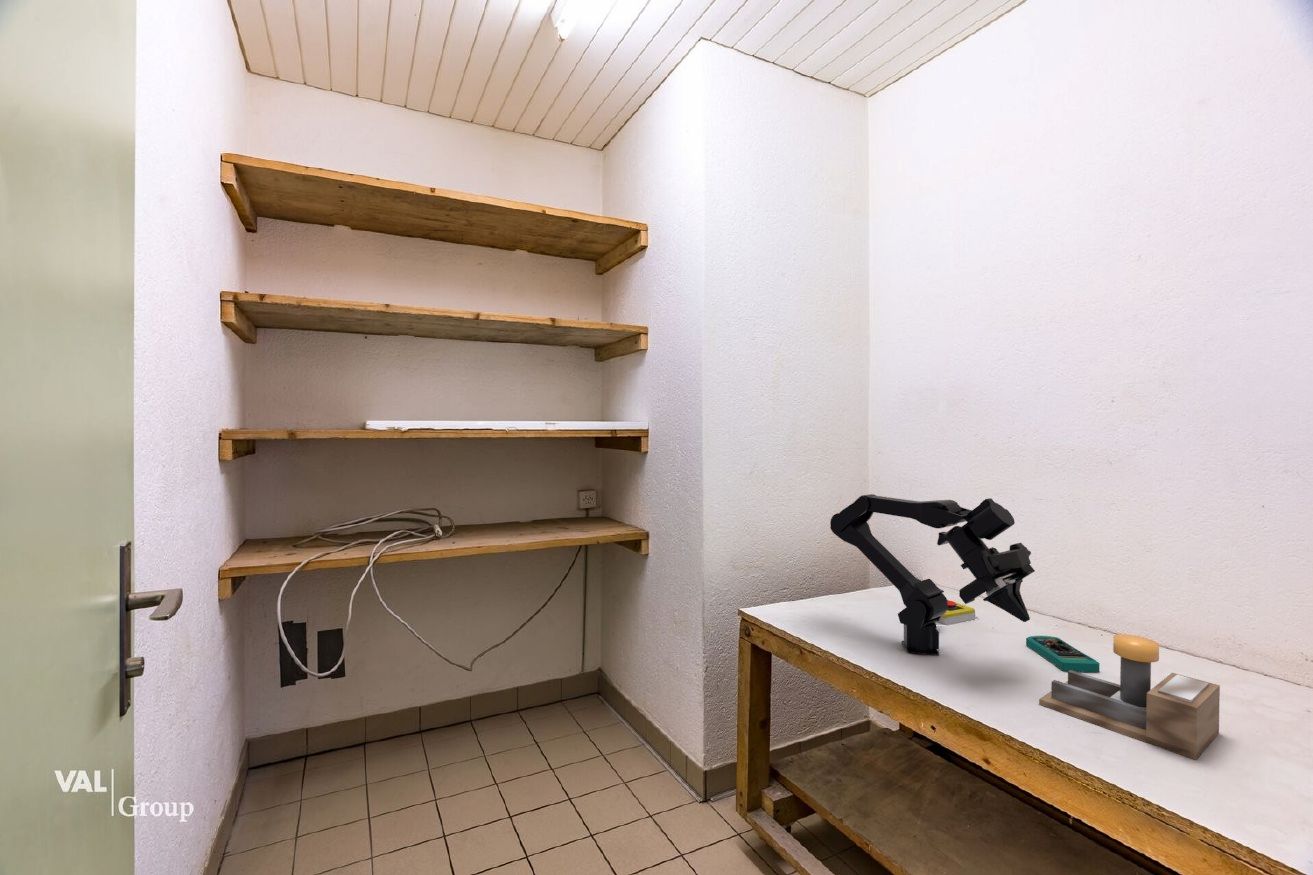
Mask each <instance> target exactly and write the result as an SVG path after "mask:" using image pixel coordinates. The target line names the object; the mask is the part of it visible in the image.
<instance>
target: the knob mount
mask: <svg viewBox="0 0 1313 875" xmlns="http://www.w3.org/2000/svg"><path fill="white" fill-rule="evenodd" d="M1220 688H1221V686H1220V684H1216V683H1212V682H1210V681H1209V682H1208V681H1206V680H1201V679H1197V678H1194V677H1189V676H1187V675H1182V674H1179V673H1176V672H1171V673H1170V674H1169V675H1167V676H1166V677H1164V678H1163V679H1162V680H1161V681H1160V682H1159V683H1157V684H1156V685H1155V686H1154V687H1152V688H1151V690H1150V691H1149V692H1147V709H1145V708H1141V707H1138V706H1135V705H1132V704H1129V703H1126V702H1123V701H1119V700H1116V699H1113V698H1110V697H1111V696H1113V695H1114V694H1115V693H1117V692H1118V691H1120V683H1115V682H1112V681H1108V680H1106V679H1101V678H1098V677H1094V676H1091V675H1089V674H1086V673H1083V672H1075V671H1072V670H1070V671H1068V672H1067V681H1065V682H1062V681H1059V680H1056V679H1053V680H1052V681H1051V691H1049V692H1047V693H1046V694H1045V695H1043V696H1041V697H1040V698H1039V699H1038V705H1041V706H1043V707H1044V708H1045V707H1046V708H1048V709H1050V710H1054V711H1057V712H1060V713H1061V714H1065V715H1068V716H1071V717H1074V718H1077V719H1079V720H1083V721H1084V722H1085V721H1086V722H1088V723H1090V724H1093V725H1096V726H1099V727H1102V728H1104V729H1107V730H1111V731H1113V732H1116V733H1118V734H1122V735H1123V736H1128V737H1130V738H1132V739H1135V738H1136V740H1138V741H1142V742H1143V743H1144V742H1145V743H1147V744H1149V745H1153V746H1155V747H1159V748H1161V749H1164V750H1166V751H1170V752H1171V753H1174V754H1177V755H1181V756H1184V757H1187V758H1189V759H1192V760H1195V761H1197V760H1198V758H1200V756H1201V755H1202V754H1203V753H1204V752H1205V751H1206V749H1208V747H1209V746H1210V745H1211V744H1212V743H1213V741H1214V740H1215V739H1216V738H1217V736H1218V735H1219V734H1220V695H1221V694H1220V693H1221V691H1220V690H1221V689H1220Z"/></svg>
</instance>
